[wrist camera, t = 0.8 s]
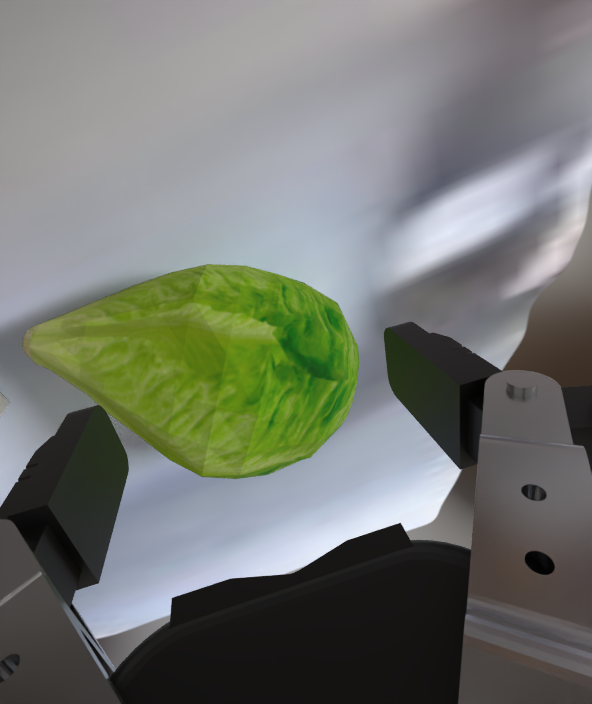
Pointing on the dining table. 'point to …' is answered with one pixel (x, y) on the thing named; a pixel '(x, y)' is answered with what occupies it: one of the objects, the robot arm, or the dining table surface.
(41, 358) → the lettuce
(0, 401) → the breaker panel
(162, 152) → the dining table surface
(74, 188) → the dining table surface
